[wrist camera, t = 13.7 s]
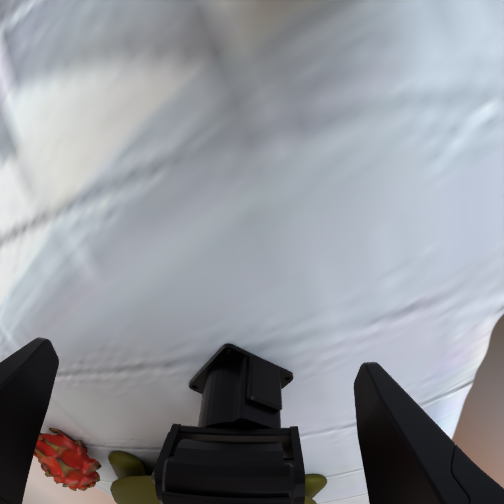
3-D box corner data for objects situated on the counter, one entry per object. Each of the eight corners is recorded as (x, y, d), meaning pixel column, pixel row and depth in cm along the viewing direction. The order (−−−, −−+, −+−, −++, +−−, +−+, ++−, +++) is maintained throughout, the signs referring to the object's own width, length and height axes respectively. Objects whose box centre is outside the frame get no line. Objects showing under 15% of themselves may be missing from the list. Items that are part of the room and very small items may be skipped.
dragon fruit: (113, 453, 38) (48, 408, 37) (113, 469, 31) (35, 415, 29) (89, 491, 34) (25, 446, 32) (86, 511, 27) (10, 459, 25)
